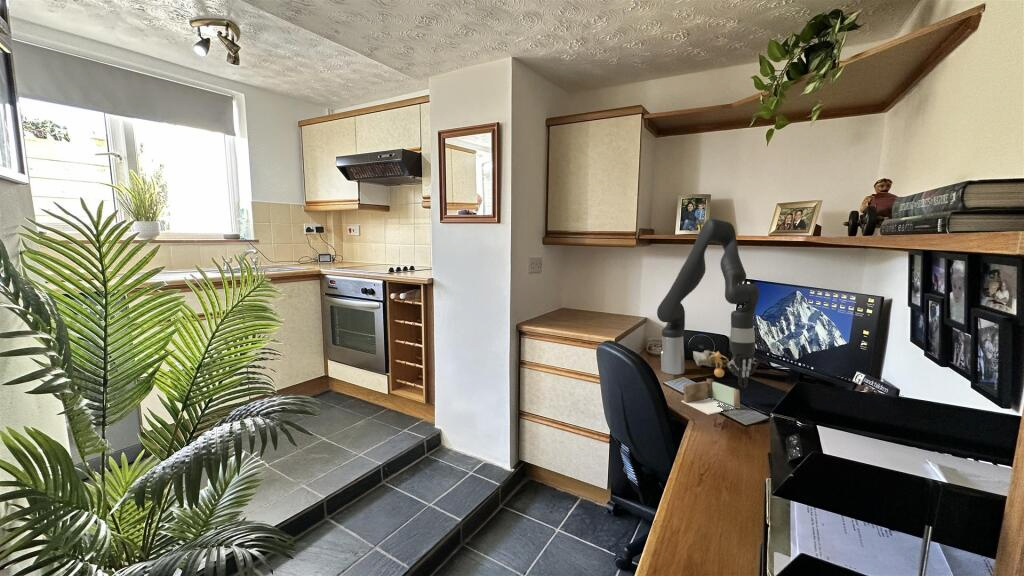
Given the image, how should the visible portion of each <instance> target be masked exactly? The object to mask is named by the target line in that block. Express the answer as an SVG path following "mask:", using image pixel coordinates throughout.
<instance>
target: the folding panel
mask: <svg viewBox="0 0 1024 576" xmlns="http://www.w3.org/2000/svg"><path fill="white" fill-rule="evenodd" d="M712 391H713V398H714V399H717V400H719V401H722V402H724V403H727V404H730V405H732V406H734V407H740V408H741V405H740V403H741V401H740V400H741V398H740V397H741V396H740V395H741V394H740V390H739V389H738V388H734V387H731V386H728V385H726V384H723V383H719V382H716V381H714V382H712Z"/></svg>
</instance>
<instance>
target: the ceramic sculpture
mask: <svg viewBox="0 0 1024 576" xmlns="http://www.w3.org/2000/svg"><path fill="white" fill-rule="evenodd" d="M692 353H693V355H692V356H693V360H694V361H695V364H696V366H698V367H701V366H706V367H710V368H716V363H715V359H716V357H715V356H714V357H711V358H710V356H712V355H715V354H716V353H717V351H716V352H715V351H711V349H706V350H704V351H703V352H699V351H695V350H693V351H692ZM709 358H710V359H709ZM708 359H709V361H708ZM716 360H717V359H716ZM720 360H722V366H721V369H723V368H728V367H727V366H726V363H727V362H728V361H727V359H725V360H724V359H722V358H721V359H720ZM717 365H718V366H717V367H718V368H720V363H719V362H718V363H717Z"/></svg>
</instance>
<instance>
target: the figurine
mask: <svg viewBox="0 0 1024 576" xmlns="http://www.w3.org/2000/svg"><path fill="white" fill-rule="evenodd" d="M714 356H715V357H716V359H717V360H716V359H715V363H716V367H715V368H714V371H713V373H714V374H713V375H715V377H717V378H723V377H724V375H725V370H724V369H723V368H721V366H722V360H723V359H722V358H724V359H725V360H727V362H728V363H729V362H730V361H729V359H728V357H726V356H724V355H722V354H721V353H720V351H719V350H718V351H716V354H715V355H712V356H710V358H711V357H714ZM710 358H709V359H710ZM709 359H708V361H709ZM720 359H721V360H720ZM718 362H719V363H720V368H718V367H717V366H718V365H717V363H718Z"/></svg>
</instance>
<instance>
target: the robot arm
mask: <svg viewBox="0 0 1024 576" xmlns="http://www.w3.org/2000/svg"><path fill="white" fill-rule="evenodd" d="M710 243H712V244H718V245H721V247H722V249H723V250H724V253H723V255H722V257H721V258H720V270H721V272H722V276H723V278H724V285H725V286H724V287H725V288H724V297H725V300H726V301H727V302H728V303H729V304H731V305H743V307H742V308H740V309H739V308H738V309H735V310H733V311H732V312H731V313H730V335H729V337H730V338H729V339H730V352H731V354H732V355H731V358H730V359H731V360H730V361H729V362H728V361H727V362H725V365H726V366H727V367H726V368H728V369H729V371H730V372H731V373H732V375H734V376H737V381H738V383H737V384H738V386H739V387H740V388H747V387H748V384H749V377H750V376H751V375H753V374H754V372H755V371H756V369H757V368H758V366H759V364H760V359H757V358H755V355H754V354H755V353H756V350H755V349H756V339H755V338H756V337H755V335H756V334H755V328H754V327H755V324H754V323H755V322H754V321H755V318H754V317H755V312H756V310H757V309H756V308H757V305H758V302H759V299H760V289H759V287H758V286H757V285H756V284H755V283H743V282H745V281H746V279H747V273H746V271H745V268H744V266H743V263H742V261H741V258H740V255H739V246H738V240H737V235H736V230H735V226H734V225H733V224H732V223H731V222H729V221H726V220H720V219H718V218H709V219H707V220H706V221H705V222H703V225H702V227H701V228H700V230H699V233H698V235H697V238H696V239H695V242H694V244H693V247H692V249H691V251H690V253H689V254H688V256H687V258H686V260H685V261H684V264H683V265H682V267H681V269H680V270H679V272H678V274H677V277H676V278H675V280H674V282H673V283H672V285H671V287H670V288H669V290H668V293H667V294H666V295H665V297H664V298H663V299H662V301H661V302H660V304H658V305H659V306H658V307H657V309H656V315H657V318H658V320H659V321H661V322H662V323H666V325H665V327H663V328H662V329H661V344H662V345H661V347H662V350H661V351H660V364H661V365H660V367H661V369H660V370H661V372H662V373H665V374H667V375H677V376H678V375H683V374H685V373H686V372H685V369H686V368H685V349H684V348H685V347H684V346H685V345H684V332H685V327H686V324H685V323H686V311H685V308H684V306H683V303H681V302H682V301H684V299H685V298H686V297H687V296H688V295H689V294H691V293H692V292H693V291H694V290H695V289H696V288H697V287H698V285H699V284H700V283H701V281H702V279H703V278H704V276H705V273H706V269H707V268H706V260H705V253H706V251H707V248H708V246H709V244H710Z"/></svg>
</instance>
